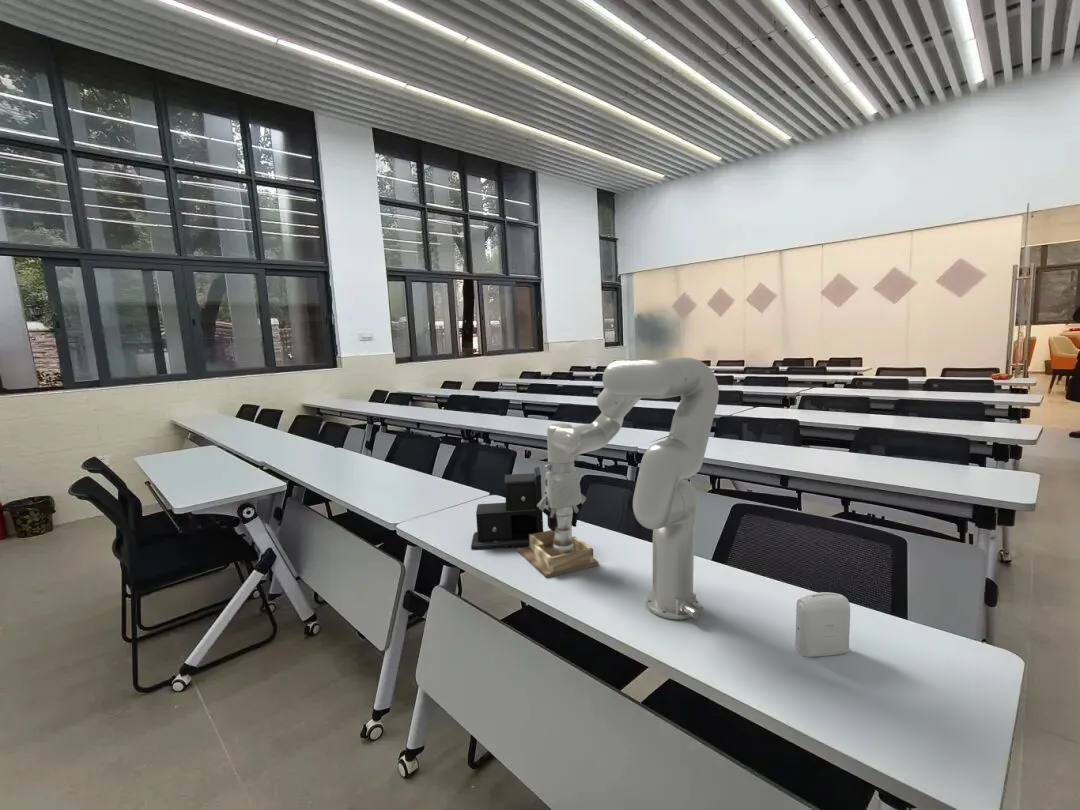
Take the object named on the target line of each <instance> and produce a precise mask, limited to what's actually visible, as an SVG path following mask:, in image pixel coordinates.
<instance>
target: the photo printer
mask: <svg viewBox="0 0 1080 810" xmlns="http://www.w3.org/2000/svg"><path fill="white" fill-rule="evenodd" d="M795 612H796V613H795V619H796V620H795V642H794V643H795V647H796V651H797V652H798V654H799V655H801V656H803V657H806V658H812V657H825V656H834V655H843V654H847V653H849V648H850V630H851V629H850V627H851V605H850V602H849V600H848V598H847V597H846V596H844V595H843V594H841V593H835V592H825V591H824V592H823V591H822V592H816V593H810V594H807V595H804V596H802V597H800V598H798V599H797V602H796V610H795Z"/></svg>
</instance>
